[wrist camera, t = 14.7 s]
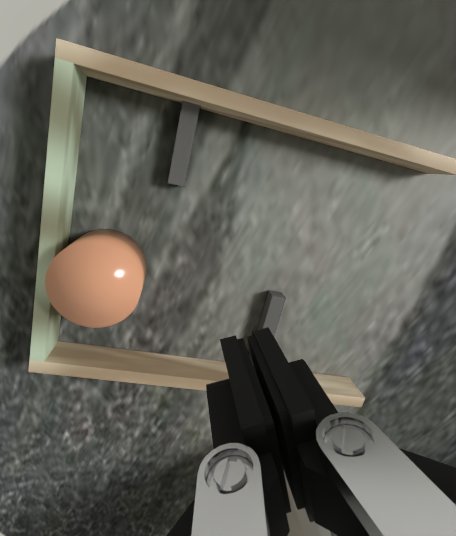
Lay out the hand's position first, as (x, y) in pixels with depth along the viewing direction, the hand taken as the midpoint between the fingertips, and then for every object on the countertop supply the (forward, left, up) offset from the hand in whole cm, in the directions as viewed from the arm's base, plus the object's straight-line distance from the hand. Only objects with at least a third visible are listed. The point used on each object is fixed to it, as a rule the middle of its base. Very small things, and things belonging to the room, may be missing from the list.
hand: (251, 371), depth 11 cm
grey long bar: (-6, -7, -17) cm, 19 cm away
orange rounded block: (-3, +7, -17) cm, 18 cm away
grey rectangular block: (+7, +3, -17) cm, 18 cm away
